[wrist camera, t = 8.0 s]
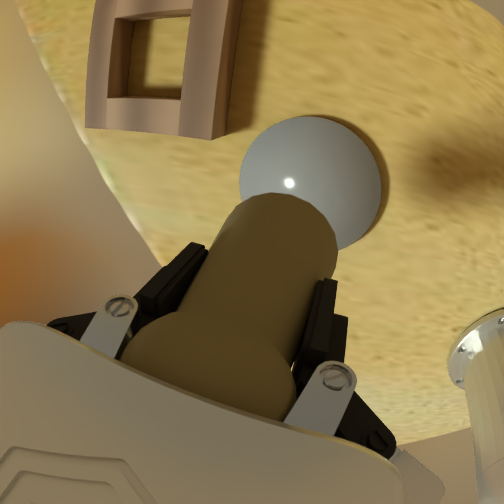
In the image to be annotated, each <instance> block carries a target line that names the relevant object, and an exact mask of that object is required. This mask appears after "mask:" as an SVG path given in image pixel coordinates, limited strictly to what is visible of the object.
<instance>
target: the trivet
mask: <svg viewBox="0 0 504 504" xmlns="http://www.w3.org/2000/svg"><path fill="white" fill-rule="evenodd" d="M239 183H240V193H241V198H242V202H243V201H245V200H247V199H248V198H250V197H252V196H255V195H260V194H265V193H269V192H274V193H283V194H291V195H293V196H296V197H298V198H300V199H302V200H305V201H307V202H309V203H311V204H312V205H313V206H314V207H315V208H316V209H317V210H319V211H320V212H321V213H322V214H323V215H324V216H325V217H326V219H327V220H328V222H329V224H330V226H331V227H332V229H333V231H334V232H335V236H336V241H337V247H338V250H341V249H343V248H345V247H347V246H349V245H351V244H352V243H354V242H355V241H356V240H358V239H359V238H360V237H361V236H362V235H363V234H364V233H365V232H366V231H367V230H368V228H369V227H370V226H371V224H372V222H373V221H374V219H375V217H376V215H377V212H378V209H379V205H380V201H381V191H382V188H381V178H380V173H379V169H378V166H377V164H376V161H375V159H374V157H373V155H372V153H371V151H370V150H369V148H368V147H367V145H366V144H365V143H364V142H363V141H362V140H361V139H360V137H359V136H357V135H356V134H355V133H354V132H353V131H351V130H350V129H348V128H347V127H345V126H343V125H342V124H340V123H337V122H335V121H333V120H329V119H326V118H321V117H314V116H302V117H295V118H291V119H287V120H284V121H281V122H279V123H277V124H274V125H273V126H271V127H270V128H268V129H266V130H265V131H264V132H263V133H261V134H260V135H259V136H258V137H257V138H256V139H255V141H254V142H253V143H252V144H251V146H250V147H249V149H248V151H247V153H246V155H245V157H244V160H243V163H242V166H241V171H240V182H239Z"/></svg>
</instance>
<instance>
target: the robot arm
mask: <svg viewBox="0 0 504 504" xmlns="http://www.w3.org/2000/svg"><path fill="white" fill-rule="evenodd" d="M207 255H208V250H207V249H205V246H204V245H201V244H197V243H194V242H191V243H189V244H188V245H187V246H186V247H185V248H184V249H183V250H182V251H181V252H180V253H179V254H178V255H177V256H176V257H175V258H174V259H173V260H172V261H171V262H170V263H169V264H168V265H167V266H164V267H163V268H162V269H161V270H160V271H159V272H158V273H157V274H156V275H155V276H153V277H152V278H151V280H150V281H149V282H148V283H147V284H146V285H145V286H144V287H143V288H142V289H141V290H140V291H139V292H138V293H137V294H136V295H135V296H134V297H130V296H128V295H114V296H111V297H109V298H107V299H106V300H105V301H104V302H103V303H102V305H101V306H100V308H99V309H98V311H97V312H92V313H87V314H81V315H75V316H70V317H63V318H58V319H55V320H53V321H51V322H49V323H48V324H47V325H46V326H45V325H44V323H42V324H38V323H34V322H28V321H15V322H11V323H9V324H7V325H4V326H2V327H0V504H439V503H440V502H441V500H442V498H443V496H444V492H445V487H444V484H443V482H442V481H441V479H440V478H439V477H438V476H436V475H435V474H434V473H433V472H431V471H430V470H429V469H428V468H426V467H425V466H424V465H423V464H421V463H420V462H419V461H418V460H417V459H415V458H414V457H413V456H412V455H411V454H409V453H408V452H407V451H406V450H405V449H404V450H403V451H401V450H400V449H398V448H397V447H396V440H395V437H394V435H393V434H392V432H391V431H390V430H389V429H388V428H387V427H386V426H385V425H384V423H383V422H382V421H381V420H380V419H379V418H378V417H377V416H376V415H375V413H374V412H373V411H372V410H371V409H370V408H369V407H368V406H367V404H366V403H365V402H364V401H363V400H362V399H361V398H360V397H359V395H358V394H357V393H356V392H355V391H354V389H355V387H356V383H357V378H356V375H355V373H354V371H353V370H352V369H351V368H350V367H349V366H347V365H346V364H344V357H345V348H346V338H347V327H348V317H346V316H342V315H338V314H334V307H335V299H336V291H337V283H338V281H336V280H333V279H329V278H324V280H323V281H322V280H318V283H317V287H316V291H315V295H314V299H313V303H312V307H311V311H310V315H309V318H308V322H307V326H306V329H305V333H304V336H303V339H302V343H301V346H300V349H299V352H298V354H297V357H296V359H295V361H294V365H293V368H292V375H293V378H294V382H295V385H296V397H297V402H296V403H295V405H294V406H293V408H292V409H291V411H290V413H289V414H288V416H287V417H286V419H285V420H284V422H279V421H276V420H272V419H269V418H266V417H262V416H259V415H256V414H252V413H249V412H246V411H243V410H240V409H237V408H234V407H231V406H228V405H225V404H222V403H219V402H216V401H214V400H211V399H208V398H205V397H203V396H200V395H197V394H195V393H192V392H189V391H187V390H184V389H182V388H179V387H177V386H174V385H172V384H169V383H167V382H165V381H162V380H160V379H157V378H155V377H153V376H150V375H148V374H146V373H144V372H141V371H139V370H137V369H135V368H133V367H130V366H128V365H126V364H124V363H122V362H120V361H119V360H120V357H121V355H122V352H123V351H124V349H125V348H126V347H127V345H128V344H129V342H130V341H131V340H132V339H133V338H134V336H135V335H136V334H137V333H138V332H139V331H140V329H141V328H143V327H145V326H146V325H148V324H149V323H151V322H153V321H154V320H156V319H158V318H160V317H163V316H165V315H167V314H169V313H172V312H176V310H177V308H178V306H179V304H180V302H181V300H182V299H183V297H184V295H185V293H186V291H187V289H188V287H189V286H190V284H191V282H192V280H193V278H194V277H195V275H196V273H197V272H198V270H199V268H200V267H201V265H202V263H203V262H204V260H205V258H206V257H207ZM448 372H449V376H450V378H451V381H452V382H453V383H454V384H455V385H456V386H458V387H459V388H461V389H464V390H465V392H466V398H467V403H468V409H469V416H470V422H471V429H472V437H473V445H474V456H475V468H476V481H477V497H478V501H479V503H480V504H504V309H501V310H498V311H495V312H492V313H490V314H488V315H486V316H484V317H483V318H481V319H479V320H478V321H476V322H475V323H474V324H472V325H471V326H470V327H469V328H468V329H466V330H465V332H464V333H463V334H462V335H461V336H460V337H459V338H458V340H457V341H456V342H455V344H454V345H453V347H452V350H451V352H450V354H449V358H448Z"/></svg>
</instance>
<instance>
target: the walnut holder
mask: <svg viewBox="0 0 504 504" xmlns="http://www.w3.org/2000/svg"><path fill="white" fill-rule="evenodd" d="M242 3H243V0H96V2H95V8H94V14H93V21H92V28H91V36H90V44H89V54H88V66H87V80H86V101H85V128H96V129H112V130H125V131H137V132H148V133H157V134H167V135H175V136H183V137H191V138H198V139H205V140H214V139H216V138H219V137H222V136H225V132H226V123H227V115H228V106H229V98H230V90H231V82H232V74H233V66H234V59H235V51H236V44H237V37H238V30H239V23H240V16H241V10H242ZM187 16H191V18H190V25H189V32H188V39H187V47H186V55H185V63H184V72H183V82H182V92H181V98H174V97H151V96H127V84H128V72H129V61H130V51H131V42H132V34H133V27H134V22H135V21H143V20H151V19H161V18H172V17H187Z"/></svg>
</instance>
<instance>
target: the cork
mask: <svg viewBox="0 0 504 504" xmlns="http://www.w3.org/2000/svg"><path fill="white" fill-rule="evenodd" d="M337 256H338V247H337V241H336V236H335V232H334V231H333V229H332V227H331V226H330V224H329V222H328V220H327V219H326V217H325V216H324V215H323V214H322V213H321V212H320V211H319V210H317V209H316V208H315V207H314V206H313V205H312V204H311V203H309V202H307V201H305V200H302V199H300V198H298V197H296V196H293V195H291V194H283V193H274V192H269V193H265V194H260V195H255V196H252V197H250V198H248V199H247V200H245V201H243V202H242V203H240V204H238V205H237V206H236V208H235V209H234V210H233V211H232V213H231V214H230V215H229V216H228V218H227V219H226V221H225V223H224V224H223V226H222V228H221V230H220V232H219V233H218V235H217V237H216V239H215V240H214V242H213V244H212V246H211V248H210V249H209V251H208V255H207V257H206V258H205V260H204V262H203V263H202V265H201V267H200V268H199V270H198V272H197V273H196V275H195V277H194V278H193V280H192V282H191V284H190V286H189V287H188V289H187V291H186V293H185V295H184V297H183V299H182V300H181V302H180V304H179V306H178V308H177V310H176V312H172V313H169V314H167V315H165V316H163V317H160V318H158V319H156V320H154V321H153V322H151V323H149V324H148V325H146V326H145V327H143V328H141V329H140V331H139V332H138V333H137V334H136V335H135V336H134V338H133V339H132V340H131V341H130V342H129V344H128V345H127V347H126V348H125V349H124V351H123V352H122V355H121V357H120V360H119V361H120V362H122V363H124V364H126V365H128V366H130V367H133V368H135V369H137V370H139V371H141V372H144V373H146V374H148V375H150V376H153V377H155V378H157V379H160V380H162V381H165V382H167V383H169V384H172V385H174V386H177V387H179V388H182V389H184V390H187V391H189V392H192V393H195V394H197V395H200V396H203V397H205V398H208V399H211V400H214V401H216V402H219V403H222V404H225V405H228V406H231V407H234V408H237V409H240V410H243V411H246V412H249V413H252V414H256V415H259V416H262V417H266V418H269V419H272V420H276V421H279V422H284V420H285V419H286V417H287V416H288V414H289V413H290V411H291V409H292V408H293V406H294V405H295V403H296V402H297V397H296V385H295V382H294V378H293V375H292V372H291V367H292V365H293V363H294V361H295V359H296V357H297V354H298V352H299V349H300V346H301V343H302V339H303V336H304V333H305V329H306V326H307V322H308V318H309V315H310V311H311V307H312V303H313V299H314V295H315V291H316V287H317V283H318V280H322V281H323V280H324V278H329V279H331V277H332V275H333V273H334V270H335V268H336V262H337Z"/></svg>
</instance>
